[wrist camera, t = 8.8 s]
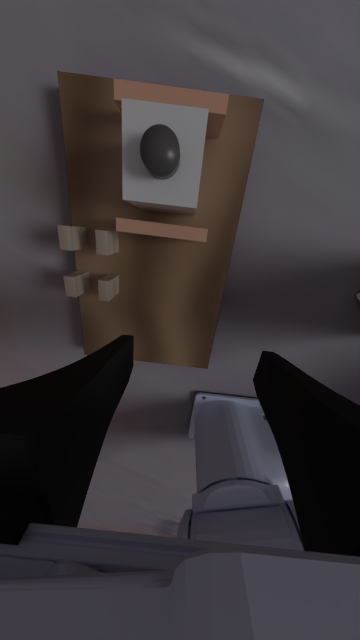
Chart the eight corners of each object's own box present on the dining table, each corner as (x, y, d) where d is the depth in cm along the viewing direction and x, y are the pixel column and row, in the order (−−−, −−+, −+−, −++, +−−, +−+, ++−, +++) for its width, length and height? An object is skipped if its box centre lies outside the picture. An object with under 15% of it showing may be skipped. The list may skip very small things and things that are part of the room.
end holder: (220, 123, 13) (229, 94, 10) (202, 240, 16) (205, 242, 13) (129, 110, 13) (113, 78, 10) (128, 231, 16) (116, 231, 13)
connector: (201, 150, 14) (211, 95, 8) (193, 215, 15) (197, 206, 10) (143, 142, 14) (114, 83, 8) (141, 209, 15) (116, 196, 10)
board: (256, 112, 14) (281, 69, 10) (206, 360, 22) (209, 385, 19) (70, 87, 14) (27, 34, 10) (90, 346, 22) (71, 369, 19)
